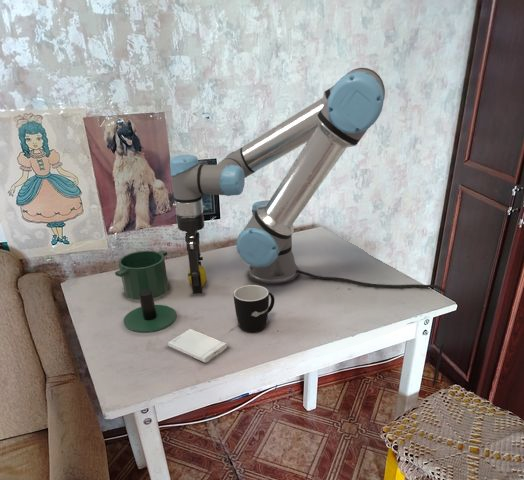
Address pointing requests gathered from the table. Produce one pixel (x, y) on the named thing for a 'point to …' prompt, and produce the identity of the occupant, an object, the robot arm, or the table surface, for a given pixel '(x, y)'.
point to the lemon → (202, 274)
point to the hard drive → (198, 345)
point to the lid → (149, 315)
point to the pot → (143, 273)
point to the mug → (252, 307)
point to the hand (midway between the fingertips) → (198, 287)
